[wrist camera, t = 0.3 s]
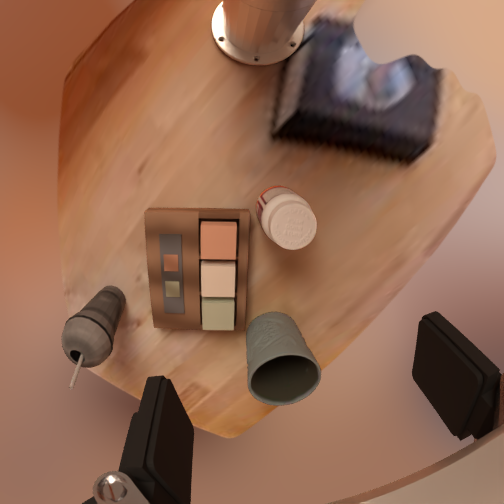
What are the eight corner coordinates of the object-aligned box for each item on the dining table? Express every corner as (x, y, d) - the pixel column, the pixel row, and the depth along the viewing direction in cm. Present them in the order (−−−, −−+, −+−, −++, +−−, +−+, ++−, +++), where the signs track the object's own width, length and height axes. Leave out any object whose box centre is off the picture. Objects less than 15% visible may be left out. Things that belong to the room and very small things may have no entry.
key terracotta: (201, 221, 40) (200, 225, 38) (236, 222, 41) (236, 225, 39) (202, 253, 42) (200, 258, 40) (235, 254, 42) (235, 259, 40)
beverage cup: (115, 269, 44) (59, 346, 25) (142, 305, 47) (105, 394, 28) (84, 290, 45) (26, 366, 26) (111, 324, 47) (69, 408, 29)
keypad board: (149, 207, 42) (143, 212, 39) (248, 209, 43) (250, 213, 40) (157, 319, 48) (153, 329, 45) (243, 321, 49) (244, 331, 46)
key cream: (202, 260, 42) (200, 266, 40) (234, 261, 43) (235, 266, 41) (202, 290, 44) (201, 296, 42) (234, 290, 44) (234, 297, 42)
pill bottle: (283, 235, 45) (301, 265, 34) (246, 214, 43) (254, 238, 32) (306, 199, 43) (332, 218, 32) (270, 176, 42) (285, 187, 31)
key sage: (202, 296, 44) (201, 302, 42) (233, 296, 44) (234, 303, 43) (203, 322, 46) (202, 329, 44) (233, 322, 46) (233, 330, 44)
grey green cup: (239, 311, 48) (244, 359, 37) (303, 303, 49) (323, 348, 37) (245, 359, 52) (251, 410, 40) (303, 352, 52) (319, 400, 41)
